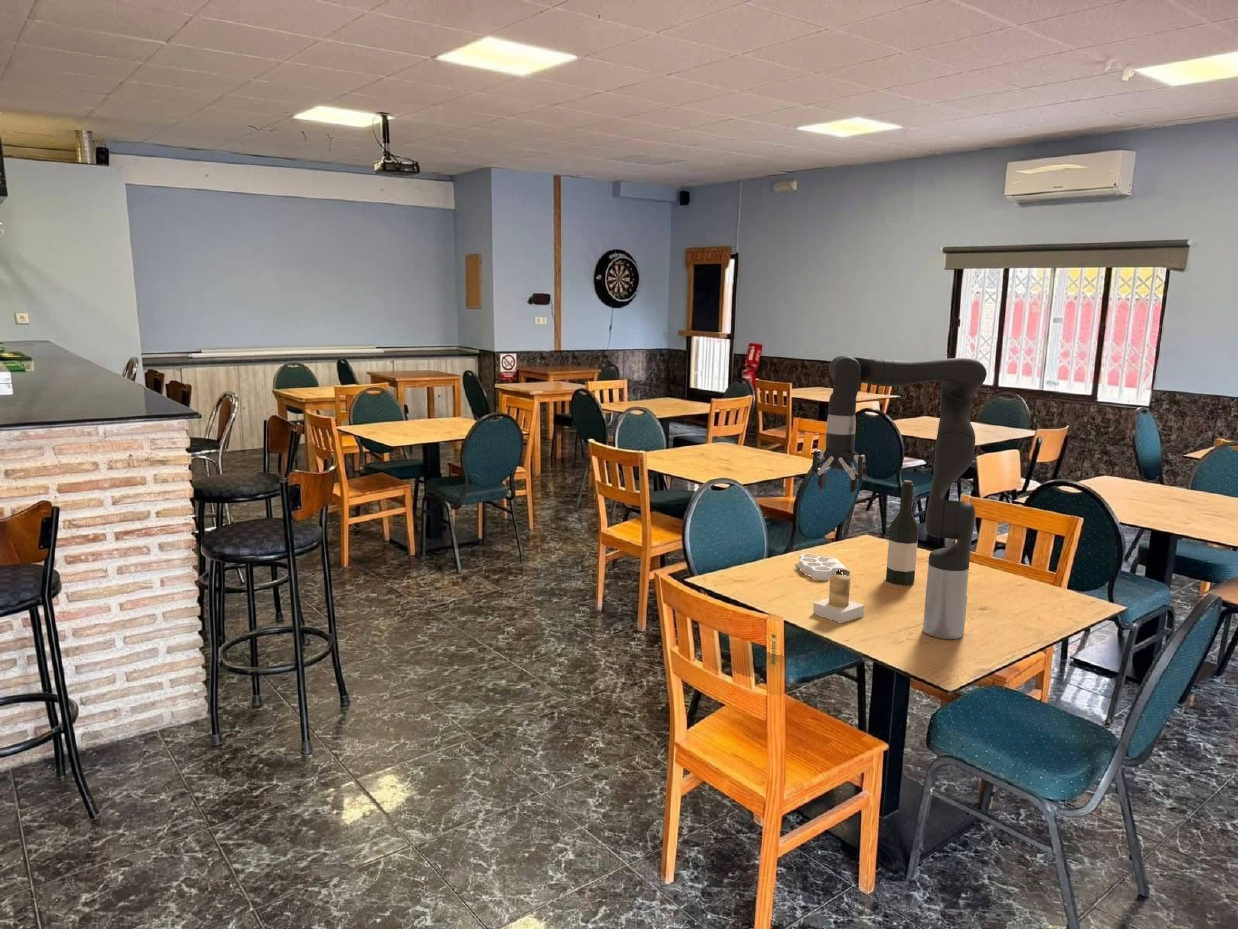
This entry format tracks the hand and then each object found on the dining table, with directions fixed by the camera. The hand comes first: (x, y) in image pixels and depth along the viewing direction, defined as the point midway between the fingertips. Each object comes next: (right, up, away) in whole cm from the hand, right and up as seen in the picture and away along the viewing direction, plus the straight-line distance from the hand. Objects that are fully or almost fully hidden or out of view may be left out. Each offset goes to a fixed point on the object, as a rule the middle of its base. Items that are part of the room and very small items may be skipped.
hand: (837, 490), depth 225 cm
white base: (-2, -32, -9) cm, 33 cm away
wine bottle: (+24, -27, +19) cm, 41 cm away
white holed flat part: (+2, -26, +28) cm, 38 cm away
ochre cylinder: (-2, -29, -10) cm, 31 cm away
